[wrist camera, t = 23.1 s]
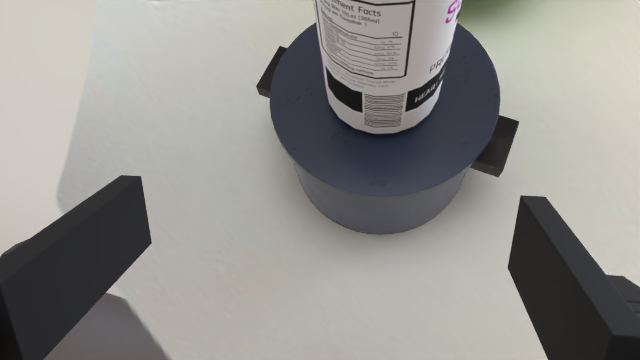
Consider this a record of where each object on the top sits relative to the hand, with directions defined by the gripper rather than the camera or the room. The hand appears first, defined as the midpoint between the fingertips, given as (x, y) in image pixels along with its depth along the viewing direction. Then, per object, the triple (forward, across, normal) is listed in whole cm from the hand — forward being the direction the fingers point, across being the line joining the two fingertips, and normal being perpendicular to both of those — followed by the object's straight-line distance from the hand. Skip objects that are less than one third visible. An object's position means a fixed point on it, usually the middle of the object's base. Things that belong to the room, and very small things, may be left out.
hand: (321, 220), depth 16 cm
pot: (+28, +2, -7) cm, 29 cm away
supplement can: (+20, +2, 0) cm, 21 cm away
